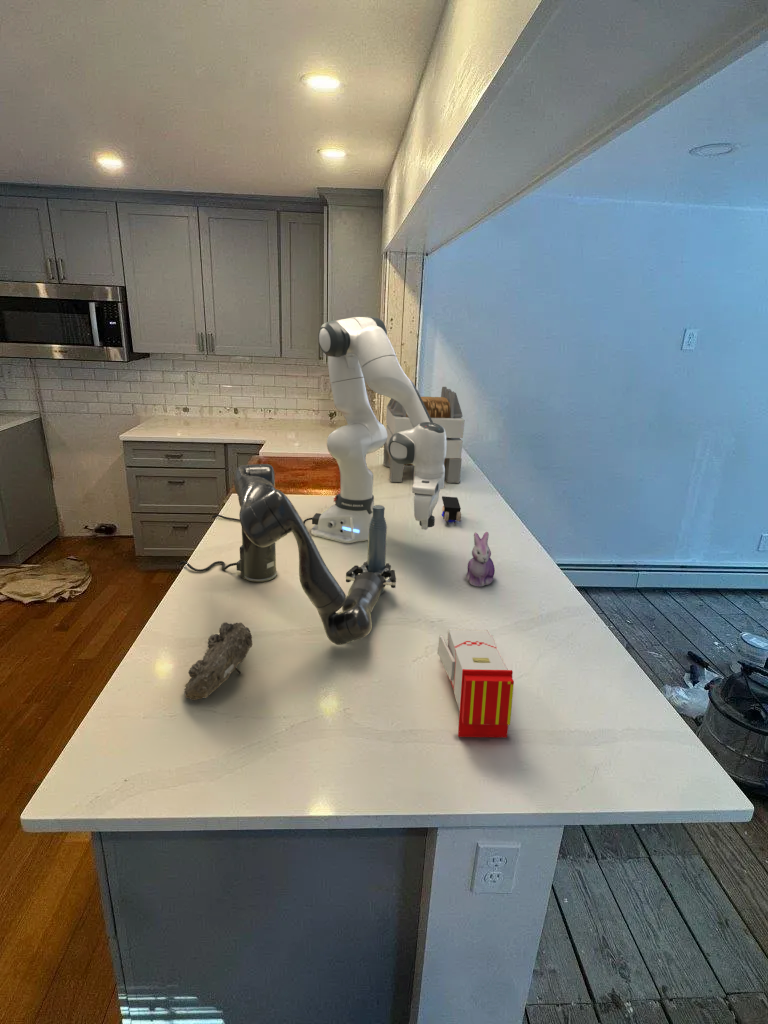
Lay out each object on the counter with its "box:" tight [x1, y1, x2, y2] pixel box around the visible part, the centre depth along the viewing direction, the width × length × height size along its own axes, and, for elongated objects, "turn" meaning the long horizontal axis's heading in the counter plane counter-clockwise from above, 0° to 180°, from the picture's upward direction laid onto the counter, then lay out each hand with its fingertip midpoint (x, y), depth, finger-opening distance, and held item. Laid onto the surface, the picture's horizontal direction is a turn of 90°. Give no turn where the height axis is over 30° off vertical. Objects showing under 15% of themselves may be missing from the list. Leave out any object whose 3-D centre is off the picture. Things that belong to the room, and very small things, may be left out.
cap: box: [419, 514, 436, 528], centre depth 166 cm, size 4×4×2 cm
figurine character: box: [441, 495, 462, 526], centre depth 214 cm, size 7×8×15 cm
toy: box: [437, 628, 515, 738], centre depth 117 cm, size 12×13×30 cm
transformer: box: [383, 386, 465, 484], centre depth 268 cm, size 34×33×41 cm
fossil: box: [183, 622, 253, 701], centre depth 120 cm, size 22×10×15 cm
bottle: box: [366, 504, 388, 595], centre depth 155 cm, size 5×5×25 cm
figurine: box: [466, 531, 496, 587], centre depth 165 cm, size 9×10×15 cm
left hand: (377, 565), depth 159 cm, fingers closed on bottle, 5 cm apart
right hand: (426, 525), depth 167 cm, fingers closed on cap, 4 cm apart
